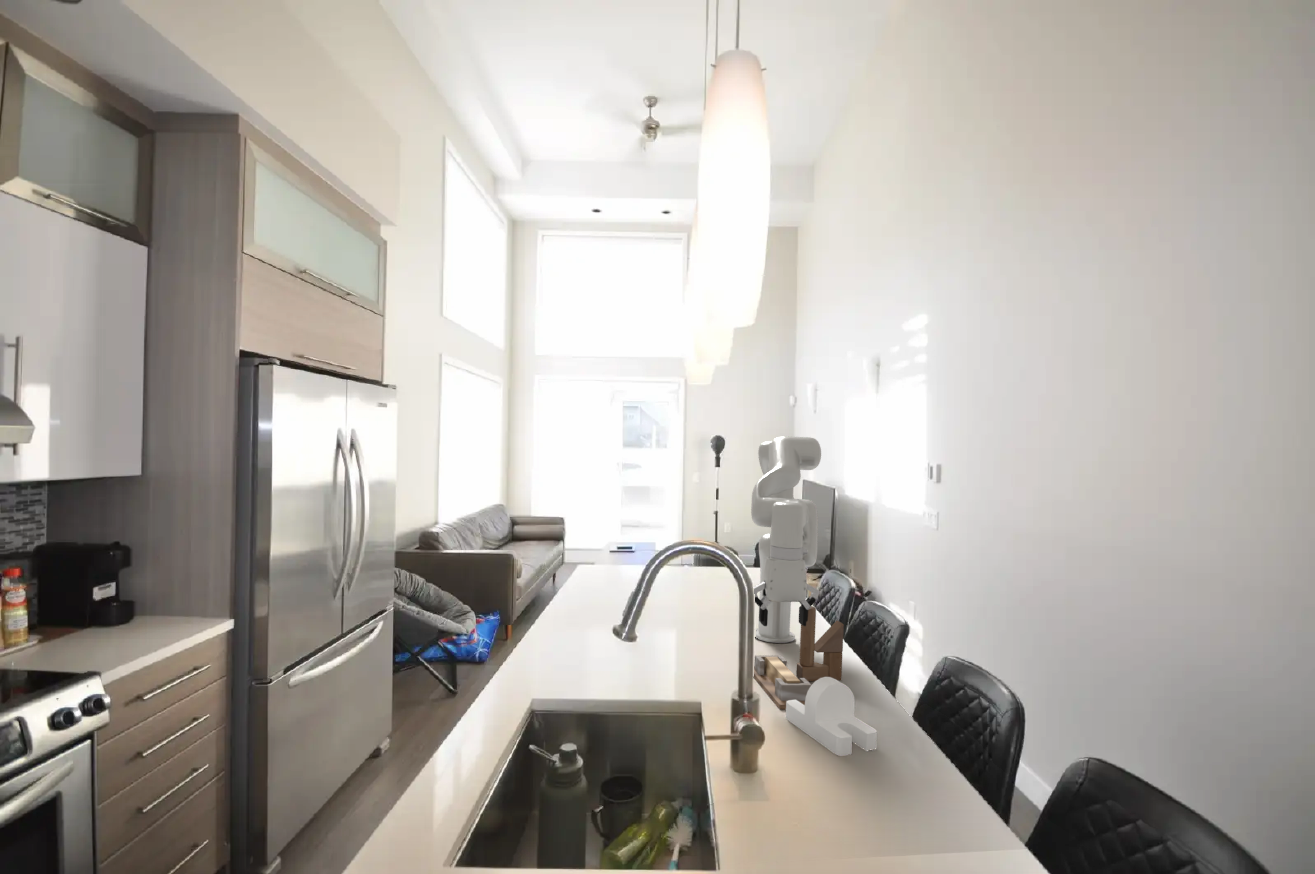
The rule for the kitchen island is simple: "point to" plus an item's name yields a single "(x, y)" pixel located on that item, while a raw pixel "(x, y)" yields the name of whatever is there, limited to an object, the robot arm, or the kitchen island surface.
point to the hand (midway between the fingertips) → (783, 624)
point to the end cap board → (779, 684)
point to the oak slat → (778, 671)
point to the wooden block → (820, 650)
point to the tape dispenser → (831, 717)
